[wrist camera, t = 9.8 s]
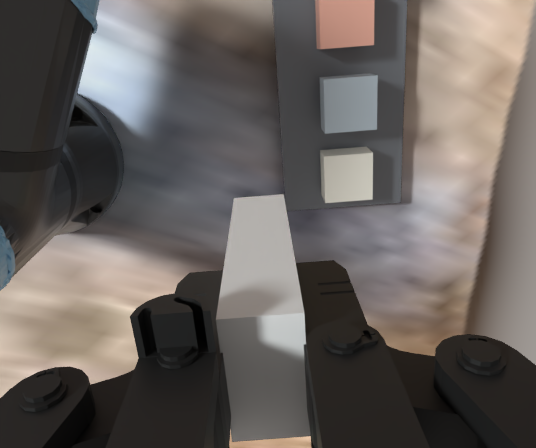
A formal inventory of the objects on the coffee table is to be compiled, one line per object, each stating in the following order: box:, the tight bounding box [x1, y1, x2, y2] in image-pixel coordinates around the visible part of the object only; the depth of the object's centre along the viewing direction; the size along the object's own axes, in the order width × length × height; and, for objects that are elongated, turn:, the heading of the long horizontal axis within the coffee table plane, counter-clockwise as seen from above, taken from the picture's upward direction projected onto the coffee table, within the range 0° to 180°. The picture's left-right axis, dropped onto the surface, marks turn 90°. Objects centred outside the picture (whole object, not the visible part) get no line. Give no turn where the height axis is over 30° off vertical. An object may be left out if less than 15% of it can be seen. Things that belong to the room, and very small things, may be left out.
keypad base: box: [272, 0, 407, 211], centre depth 45 cm, size 12×22×2 cm, turn 4°
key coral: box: [315, 0, 375, 49], centre depth 41 cm, size 5×5×5 cm
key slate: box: [319, 73, 378, 134], centre depth 42 cm, size 5×5×5 cm
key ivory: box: [320, 147, 373, 203], centre depth 46 cm, size 5×5×5 cm
